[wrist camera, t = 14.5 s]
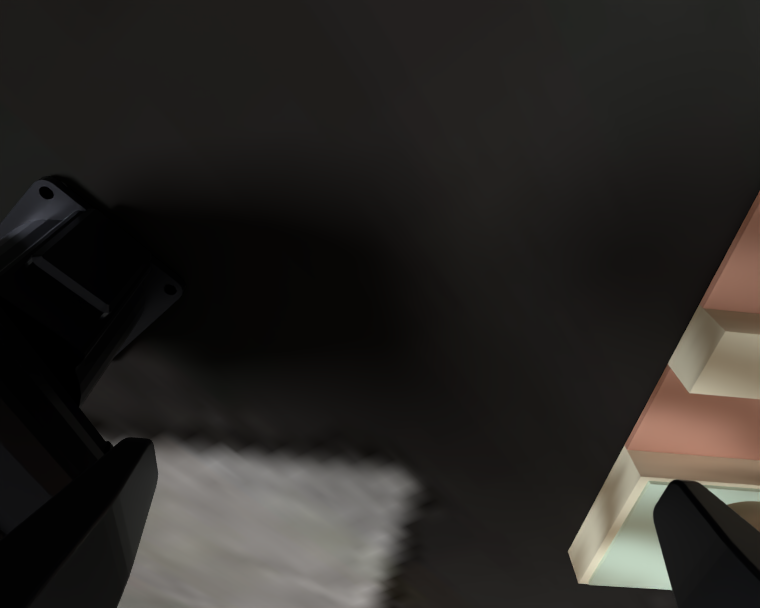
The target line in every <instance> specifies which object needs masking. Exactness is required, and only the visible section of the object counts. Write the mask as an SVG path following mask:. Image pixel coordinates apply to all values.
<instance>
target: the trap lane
mask: <svg viewBox="0 0 760 608" xmlns="http://www.w3.org/2000/svg"><path fill="white" fill-rule="evenodd" d="M676 479H679V480H692V481H696V482H699V483H701V484H702V485H703V486H705V487H706V488H707V489H708V490H709V491H711V492H712V493H713V494H714V495H716V496H717V497H718V498H719V499H720V500H722V501H723V502H724V503H725V504H727V505H728V504H732V503H737V502H744V501H758V502H760V191H759V193H758V195H757V197H756V199H755V201H754V202H753V204H752V206H751V208H750V210H749V212H748V214H747V216H746V218H745V219H744V221H743V223H742V225H741V227H740V229H739V231H738V233H737V234H736V236H735V238H734V240H733V242H732V244H731V246H730V248H729V250H728V251H727V253H726V255H725V257H724V259H723V261H722V263H721V265H720V266H719V268H718V270H717V272H716V274H715V276H714V278H713V280H712V282H711V283H710V285H709V287H708V289H707V291H706V293H705V295H704V297H703V298H702V300H701V302H700V304H699V306H698V308H697V310H696V312H695V314H694V315H693V317H692V319H691V321H690V323H689V325H688V327H687V329H686V330H685V332H684V334H683V336H682V338H681V340H680V342H679V344H678V346H677V347H676V349H675V351H674V353H673V355H672V357H671V359H670V361H669V362H668V364H667V366H666V368H665V370H664V372H663V374H662V376H661V378H660V379H659V381H658V383H657V385H656V387H655V389H654V391H653V393H652V394H651V396H650V398H649V400H648V402H647V404H646V406H645V408H644V410H643V411H642V413H641V415H640V417H639V419H638V421H637V423H636V425H635V426H634V428H633V430H632V432H631V434H630V436H629V438H628V440H627V442H626V443H625V445H624V447H623V449H622V451H621V453H620V455H619V457H618V458H617V460H616V462H615V464H614V466H613V468H612V470H611V472H610V474H609V475H608V477H607V479H606V481H605V483H604V485H603V487H602V489H601V490H600V492H599V494H598V496H597V498H596V500H595V502H594V504H593V506H592V507H591V509H590V511H589V513H588V515H587V517H586V519H585V521H584V522H583V524H582V526H581V528H580V530H579V532H578V534H577V536H576V538H575V539H574V541H573V543H572V545H571V547H570V549H569V551H568V553H569V556H570V559H571V562H572V565H573V568H574V571H575V574H576V577H577V580H578V583H582V584H589V585H601V586H617V587H634V588H651V589H668V590H672V588H671V584H670V581H669V577H668V573H667V569H666V566H665V562H664V558H663V555H662V551H661V547H660V544H659V540H658V536H657V533H656V529H655V525H654V521H653V510H654V507H655V505H656V503H657V502H658V500H659V499H660V497H661V495H662V494H663V492H664V491H665V489H666V488H667V486H668V484H669V483H670V482H671V481H673V480H676Z"/></svg>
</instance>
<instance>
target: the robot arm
mask: <svg viewBox="0 0 760 608" xmlns="http://www.w3.org/2000/svg"><path fill="white" fill-rule="evenodd" d="M45 187H48V188H50V189H51V190H52V191H53V194H54V196H52V195H50V194H48V193H47V192H46V190H45ZM167 284H171V285H173V286H174V287H175V288H176V290H172V289H170V288H169V287H168V286H167ZM184 290H185V283H184V281H183V280H182V279H181V278H180V277H179V276H178V275H177V274H175V273H174V272H173V271H172V270H170V269H169V268H168V267H167V266H165V265H164V264H163V263H162V262H160V261H159V260H158V259H157V258H155V257H154V256H153V255H152V254H150V252H149V250H147V249H146V248H145V247H144V246H142V245H141V244H140V243H139V242H137V241H136V240H135V239H134V238H132V237H131V236H130V235H129V234H127V233H126V232H125V231H124V230H122V229H121V228H120V227H119V226H117V225H116V224H115V223H114V222H112V221H111V220H110V219H109V218H107V217H106V216H105V215H104V214H102V213H101V212H100V211H99V210H97V209H94V208H93V207H92V206H90V205H89V204H88V203H87V202H85V201H84V200H83V199H82V198H80V197H79V196H78V195H77V194H75V193H74V192H73V191H72V190H70V189H69V188H68V187H67V186H65V185H64V184H63V183H62V182H60V181H59V180H57V179H56V178H54V177H50V176H45V177H42V178H41V179H39V180H37V181H36V182H35V183H33V185H32V186H31V187H30V188H29V189H28V191H27V192H26V193H25V194H24V196H23V197H22V198H21V199H20V200H19V202H18V203H17V204H16V205H15V207H14V208H13V209H12V210H11V211H10V213H9V214H8V215H7V216H6V218H5V219H4V220H3V221H2V222H1V224H0V608H117V606H118V604H119V601H120V599H121V596H122V594H123V592H124V589H125V586H126V584H127V581H128V579H129V576H130V573H131V569H132V566H133V563H134V560H135V556H136V553H137V550H138V546H139V543H140V539H141V536H142V533H143V529H144V526H145V522H146V519H147V516H148V512H149V509H150V506H151V502H152V499H153V495H154V492H155V489H156V485H157V479H158V469H157V463H156V457H155V450H154V445H153V442H152V441H151V440H150V439H145V438H132V437H129V438H125V439H123V440H122V441H120V442H119V443H118V444H117V445H115V446H114V447H113V445H112V444H111V443H110V442H109V441H105V440H104V439H103V438H102V436H101V435H100V434H99V433H98V431H97V430H96V429H95V427H94V426H93V425H92V424H91V422H90V421H89V420H88V418H87V417H86V416H85V415H84V413H83V412H82V411H81V409H80V407H81V406H82V404H83V403H84V401H85V400H86V398H87V397H88V395H89V394H90V392H91V391H92V389H93V388H94V386H95V385H96V383H97V382H98V381H99V379H100V378H101V376H102V375H103V373H104V372H105V370H106V369H107V367H108V366H109V364H110V363H111V361H112V360H113V358H114V357H115V356H116V355H117V354H118V353H119V352H121V351H122V350H123V349H124V348H125V347H126V346H127V345H128V344H129V343H131V342H132V341H133V340H134V339H135V338H136V337H137V336H138V335H139V334H140V333H142V332H143V331H144V330H145V329H146V328H147V327H148V326H149V325H150V324H151V323H153V322H154V321H155V320H156V319H157V318H158V317H159V316H160V315H161V314H162V313H164V312H165V311H166V310H167V309H168V308H169V307H170V306H171V305H172V304H173V303H175V302H176V301H177V300H178V299H179V298H180V297H181V295H182V294H183V292H184ZM653 521H654V525H655V529H656V533H657V536H658V540H659V544H660V547H661V551H662V555H663V558H664V562H665V566H666V569H667V573H668V577H669V581H670V584H671V588H672V592H673V595H674V598H675V602H676V605H677V608H760V532H759V531H758V530H757V529H756V528H755V527H753V526H752V525H751V524H750V523H749V522H747V521H746V520H745V519H744V518H742V517H741V516H740V515H739V514H738V513H736V512H735V511H734V510H733V509H731V508H730V507H729V506H728V505H727V504H725V503H724V502H723V501H722V500H720V499H719V498H718V497H717V496H716V495H714V494H713V493H712V492H711V491H709V490H708V489H707V488H706V487H705V486H703V485H702V484H701V483H699V482H696V481H692V480H679V479H676V480H673V481H671V482H670V483H669V484H668V486H667V488H666V489H665V491H664V492H663V494H662V495H661V497H660V499H659V500H658V502H657V503H656V505H655V507H654V510H653Z"/></svg>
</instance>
